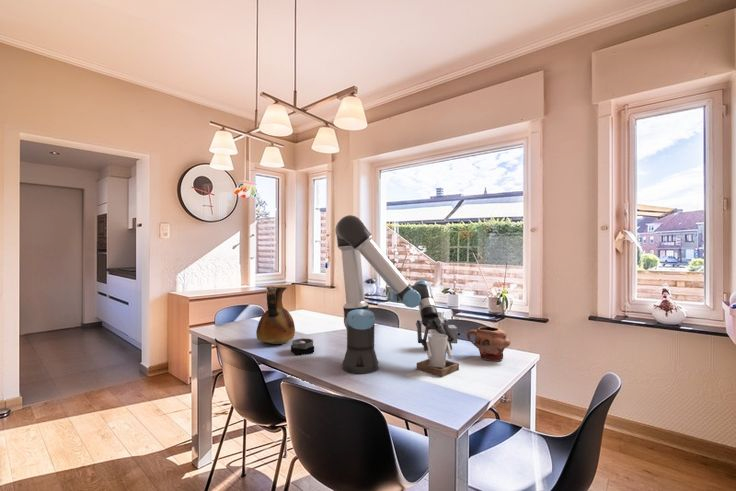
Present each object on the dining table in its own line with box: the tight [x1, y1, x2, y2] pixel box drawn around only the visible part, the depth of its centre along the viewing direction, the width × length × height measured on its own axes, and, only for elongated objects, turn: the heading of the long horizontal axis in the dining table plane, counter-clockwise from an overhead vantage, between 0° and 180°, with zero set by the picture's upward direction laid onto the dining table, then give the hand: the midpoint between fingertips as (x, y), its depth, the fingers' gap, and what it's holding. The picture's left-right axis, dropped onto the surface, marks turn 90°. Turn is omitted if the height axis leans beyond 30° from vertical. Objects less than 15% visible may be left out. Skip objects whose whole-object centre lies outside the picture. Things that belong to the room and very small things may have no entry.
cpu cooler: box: [290, 337, 315, 356], centre depth 168 cm, size 10×6×10 cm
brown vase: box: [255, 285, 296, 345], centre depth 184 cm, size 20×20×30 cm
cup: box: [427, 333, 448, 367], centre depth 144 cm, size 8×8×12 cm
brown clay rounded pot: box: [466, 326, 511, 362], centre depth 160 cm, size 20×12×14 cm, turn 56°
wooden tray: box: [416, 358, 460, 378], centre depth 144 cm, size 12×12×3 cm
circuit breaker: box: [430, 316, 461, 352], centre depth 175 cm, size 8×14×15 cm, turn 89°
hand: (440, 357), depth 141 cm, fingers closed on cup, 8 cm apart
